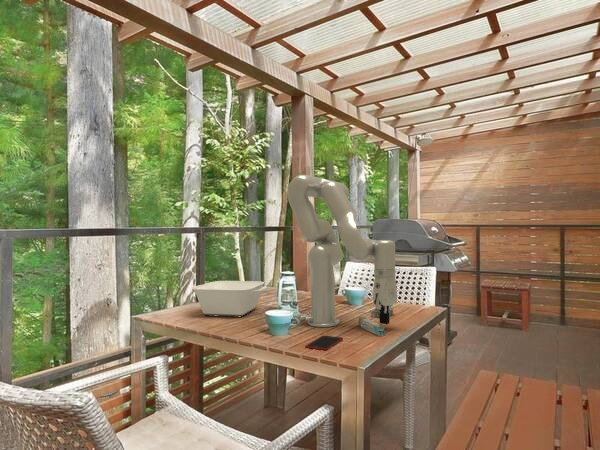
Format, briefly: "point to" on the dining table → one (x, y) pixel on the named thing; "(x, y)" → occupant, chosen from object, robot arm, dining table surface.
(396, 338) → the dining table surface
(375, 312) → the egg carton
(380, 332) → the tongs lower
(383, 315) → the robot arm
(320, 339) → the cell phone
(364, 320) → the tongs upper arm
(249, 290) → the tub
